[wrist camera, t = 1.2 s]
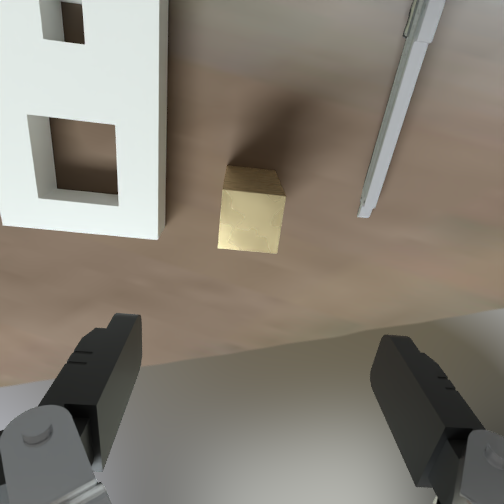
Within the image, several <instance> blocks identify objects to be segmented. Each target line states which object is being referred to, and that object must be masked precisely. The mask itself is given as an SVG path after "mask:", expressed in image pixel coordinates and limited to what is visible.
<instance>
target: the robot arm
mask: <svg viewBox="0 0 504 504" xmlns="http://www.w3.org/2000/svg"><path fill="white" fill-rule="evenodd" d="M141 359H142V322H141V316H140V315H135V314H123V313H116V314H115V315H114V316H113V318H112V320H111V321H110V323H109V325H108V327H107V328H106V329H105V328H95V329H94V330H92V331H91V332H90V333H88V334H87V335H86V336H84V337H83V338H82V339H81V340H80V342H79V344H78V345H77V347H76V348H75V350H74V353H72V354H71V356H70V357H69V359H68V361H67V364H65V365H64V367H63V368H62V370H61V371H60V373H59V374H58V376H57V378H56V379H55V381H54V382H53V384H52V385H51V387H50V388H49V390H48V391H47V393H46V395H45V396H44V398H43V399H42V401H41V402H40V404H39V405H38V407H35V408H32V409H30V410H28V411H25V412H24V413H22V414H20V415H19V416H17V417H16V418H15V419H14V420H12V421H11V422H10V423H9V424H8V425H7V427H6V428H5V429H4V430H2V431H0V504H111V501H110V499H109V497H108V494H107V491H106V490H105V487H104V485H103V484H102V483H101V482H99V483H98V482H97V480H96V478H95V475H94V473H93V471H98V472H103V469H104V467H105V464H106V461H107V458H108V455H109V453H110V450H111V447H112V444H113V442H114V439H115V437H116V434H117V431H118V428H119V425H120V423H121V420H122V417H123V414H124V412H125V409H126V406H127V404H128V401H129V398H130V395H131V393H132V390H133V387H134V384H135V382H136V379H137V376H138V373H139V370H140V366H141ZM370 381H371V387H372V389H373V392H374V394H375V396H376V399H377V401H378V403H379V405H380V407H381V410H382V412H383V414H384V416H385V419H386V421H387V423H388V425H389V428H390V430H391V432H392V434H393V436H394V439H395V441H396V443H397V446H398V448H399V450H400V452H401V454H402V457H403V459H404V461H405V463H406V466H407V468H408V470H409V472H410V474H411V477H412V479H413V481H414V484H415V486H416V487H430V488H433V489H434V491H435V493H436V497H435V499H434V501H433V504H504V437H503V436H501V435H499V434H497V433H494V432H491V431H488V430H486V429H485V428H484V427H483V425H482V424H481V422H480V421H479V420H478V418H477V417H476V416H475V414H474V413H473V411H472V410H471V409H470V407H469V406H468V405H467V403H466V402H465V400H464V399H463V398H462V397H461V395H460V394H459V392H458V391H456V390H455V387H454V386H453V384H452V383H451V381H450V380H448V379H447V376H446V374H445V373H444V372H443V370H442V369H441V368H440V366H439V365H438V364H437V363H436V362H434V361H433V360H432V359H431V358H430V357H428V356H427V355H426V354H425V353H420V351H419V350H418V348H417V347H416V345H415V344H414V343H413V341H412V340H411V338H409V337H407V336H396V335H384V336H383V337H382V339H381V341H380V345H379V347H378V350H377V353H376V356H375V359H374V363H373V365H372V368H371V373H370Z"/></svg>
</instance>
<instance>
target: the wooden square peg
mask: <svg viewBox="0 0 504 504" xmlns="http://www.w3.org/2000/svg"><path fill="white" fill-rule="evenodd" d="M285 200H286V195H285V193H284V190H283V188H282V186H281V184H280V181H279V179H278V177H277V174H276V172H275V170H266V169H257V168H248V167H239V166H230V165H227V169H226V174H225V179H224V185H223V190H222V202H221V214H220V227H219V239H218V248H222V249H233V250H243V251H254V252H265V253H275V254H277V249H278V243H279V237H280V231H281V225H282V218H283V212H284V206H285Z"/></svg>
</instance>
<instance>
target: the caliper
mask: <svg viewBox="0 0 504 504" xmlns="http://www.w3.org/2000/svg"><path fill="white" fill-rule="evenodd" d="M445 1H446V0H414V1H413V3H412V6H411V9H410V12H409V18H408V21H407V24H406V27H405V30H404V33H403V37H404V38H406V42H405V45H404V48H403V52H402V55H401V59H400V62H399V66H398V69H397V73H396V76H395V80H394V83H393V86H392V90H391V93H390V97H389V100H388V104H387V107H386V111H385V114H384V118H383V121H382V124H381V128H380V131H379V135H378V138H377V142H376V145H375V148H374V152H373V155H372V159H371V162H370V165H369V169H368V172H367V176H366V179H365V182H364V186H363V191H362V195H361V200H360V202H361V204H360V207H359V211H358V215H357V217H364V218H369V216H370V214H371V211H372V208H375V207H376V204H377V201H378V198H379V195H380V192H381V189H382V185H383V182H384V179H385V176H386V173H387V170H388V167H389V164H390V161H391V158H392V155H393V152H394V149H395V145H396V142H397V139H398V136H399V133H400V130H401V127H402V124H403V121H404V118H405V114H406V111H407V108H408V105H409V102H410V99H411V96H412V93H413V90H414V87H415V84H416V80H417V77H418V74H419V71H420V68H421V65H422V62H423V59H424V56H425V53H426V50H427V46H428V43H431V42H432V40H433V37H434V34H435V31H436V28H437V25H438V22H439V19H440V16H441V13H442V10H443V7H444V4H445Z"/></svg>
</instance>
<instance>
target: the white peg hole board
mask: <svg viewBox="0 0 504 504" xmlns="http://www.w3.org/2000/svg"><path fill="white" fill-rule="evenodd" d="M61 2H67V3H74V4H81V5H82V8H83V22H84V37H85V45H84V44H76V43H69V42H64V31H63V20H62V9H61ZM167 68H168V0H0V213H1V218H2V223H3V225H6V226H16V227H27V228H37V229H48V230H59V231H69V232H80V233H90V234H101V235H112V236H122V237H133V238H143V239H154V240H158V239H159V237H160V235H161V233H162V232H163V230H164V228H165V205H166V136H167ZM49 117H54V118H62V119H71V120H79V121H88V122H96V123H105V124H113V125H115V129H116V153H117V176H118V195H115V194H105V193H95V192H86V191H76V190H66V189H57V183H56V174H55V165H54V157H53V148H52V139H51V131H50V122H49Z"/></svg>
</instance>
